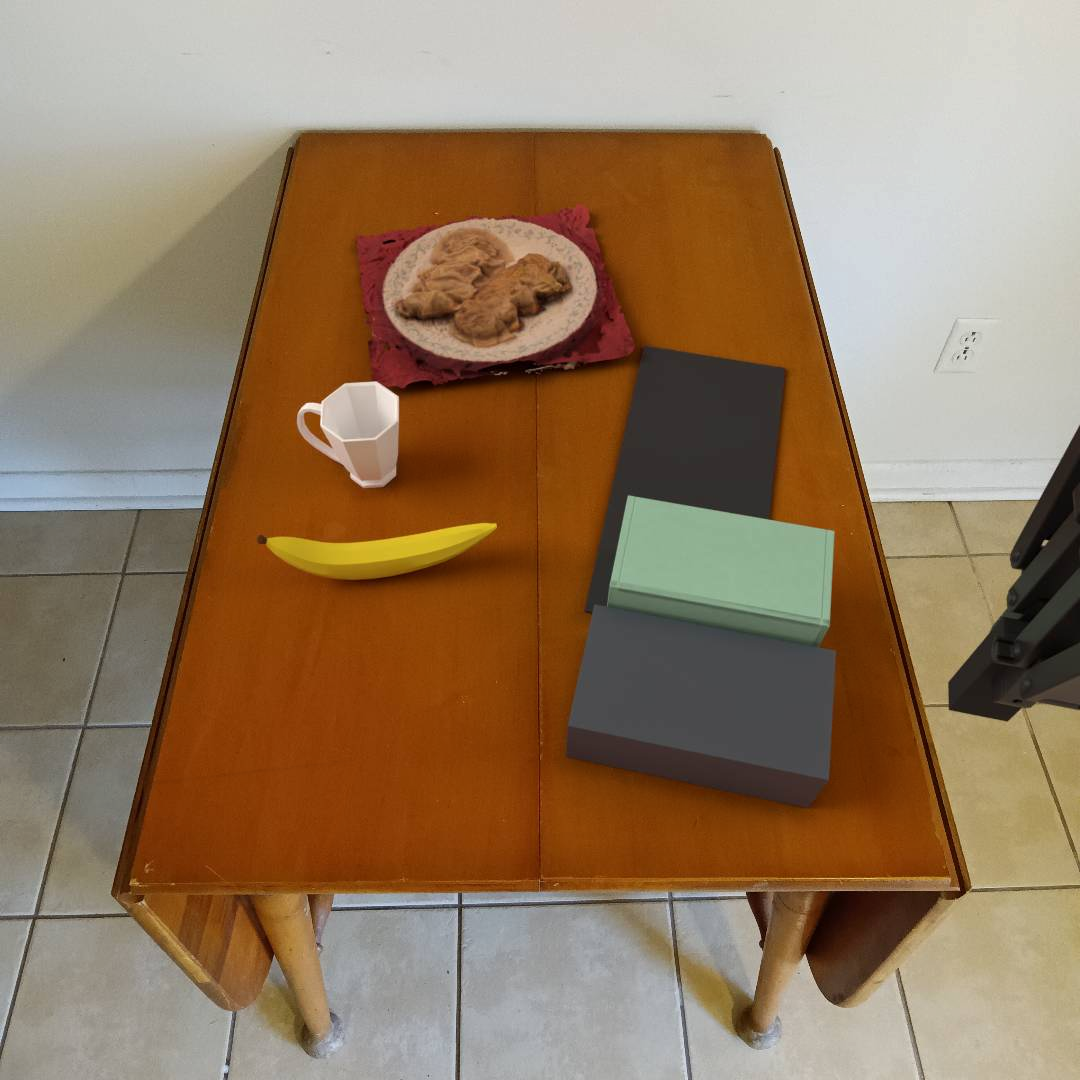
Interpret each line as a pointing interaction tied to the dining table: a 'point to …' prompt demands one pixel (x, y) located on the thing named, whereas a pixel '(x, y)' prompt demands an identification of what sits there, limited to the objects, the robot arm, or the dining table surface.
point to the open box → (724, 571)
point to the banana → (377, 552)
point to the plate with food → (488, 298)
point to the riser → (704, 706)
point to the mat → (694, 443)
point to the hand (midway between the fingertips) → (977, 701)
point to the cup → (358, 431)
